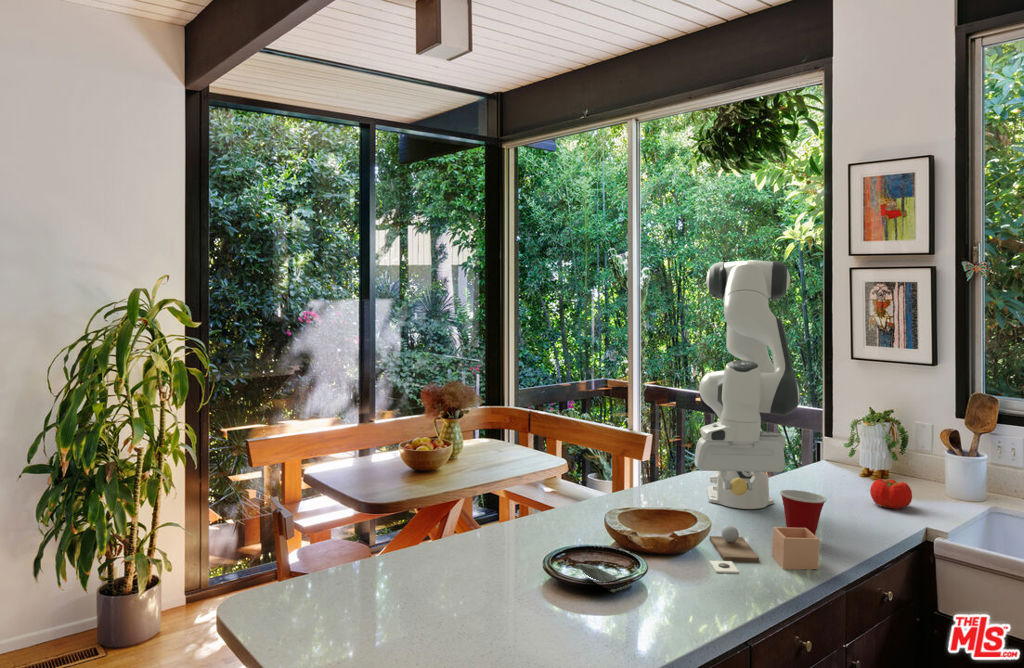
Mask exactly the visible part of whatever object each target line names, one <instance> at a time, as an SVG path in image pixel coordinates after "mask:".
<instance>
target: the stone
mask: <svg viewBox="0 0 1024 668" xmlns="http://www.w3.org/2000/svg"><path fill="white" fill-rule="evenodd" d="M575 567H577V568H579V569H580V570H581V572H582V573H583V574H584V573H585V574H586V575H588V576H589V577H591V578H593V579H596V580H599V581H602V582H604V581H606V582H607V581H610V580H613V579H616V578H617V576H616V575H613V574H611V573H609V572H607V571H606V570H604V569H601V568H599V567H596V565H595V566H594V565H592V564H589V563H575ZM585 574H584V575H585ZM631 586H632V584H631V583H630V584H628V585H625V586H623V587H620V588H617V589H611V590H610V591H609V592H612V593H616V592H618V591H622V590H623V589H624V590H625V589H627V588H629V587H630V588H631Z"/></svg>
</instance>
